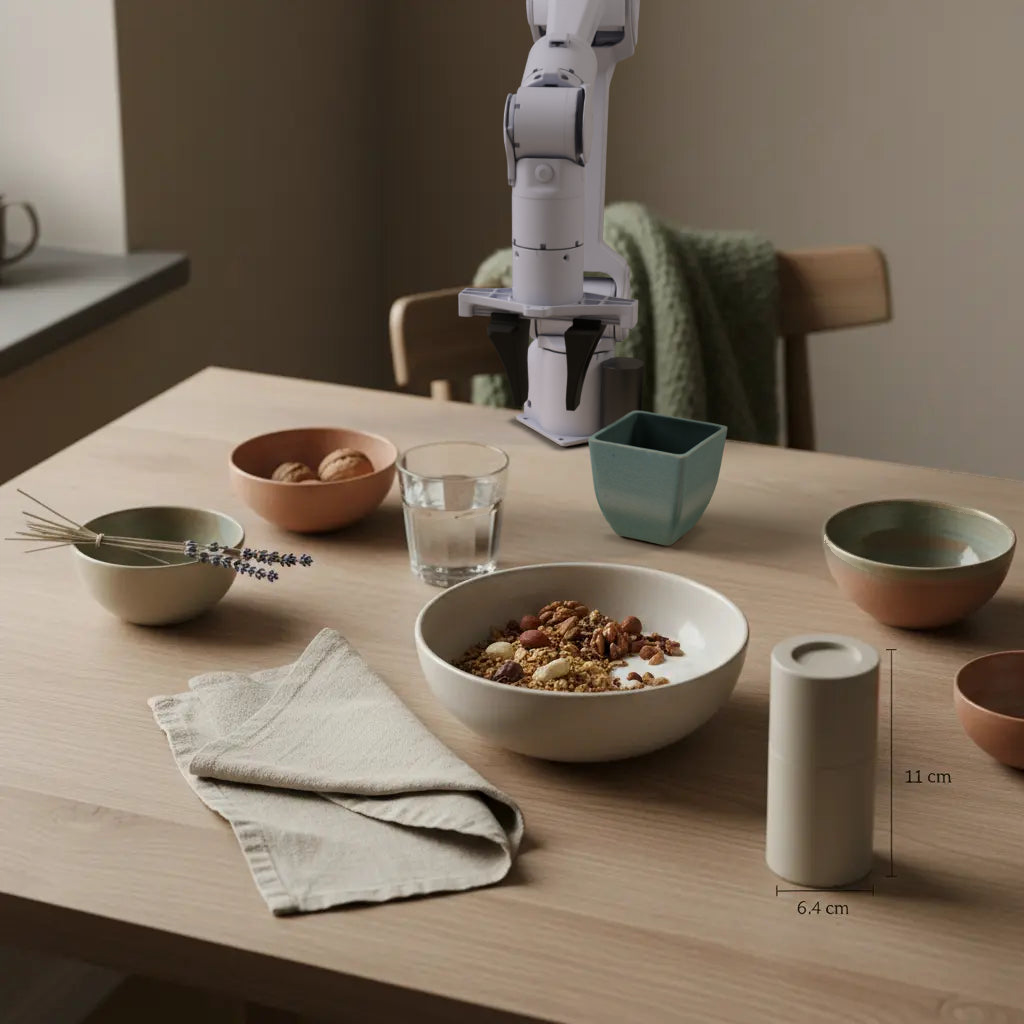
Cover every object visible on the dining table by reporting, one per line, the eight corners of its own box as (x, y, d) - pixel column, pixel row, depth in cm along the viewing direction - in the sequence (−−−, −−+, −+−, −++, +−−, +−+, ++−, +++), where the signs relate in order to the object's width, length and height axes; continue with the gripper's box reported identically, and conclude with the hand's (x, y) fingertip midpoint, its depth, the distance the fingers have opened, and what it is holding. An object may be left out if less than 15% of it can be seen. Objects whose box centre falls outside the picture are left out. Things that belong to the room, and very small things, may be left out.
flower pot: (631, 504, 132) (634, 407, 129) (724, 524, 128) (730, 424, 125) (583, 539, 125) (585, 437, 122) (680, 562, 121) (685, 457, 118)
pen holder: (592, 439, 148) (593, 360, 145) (626, 432, 150) (628, 354, 147) (614, 451, 145) (616, 371, 142) (649, 444, 147) (652, 365, 143)
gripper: (445, 247, 118) (448, 412, 124) (627, 259, 115) (622, 428, 120) (472, 229, 125) (474, 386, 130) (645, 239, 121) (640, 400, 126)
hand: (546, 404), depth 125 cm, fingers open, 4 cm apart
